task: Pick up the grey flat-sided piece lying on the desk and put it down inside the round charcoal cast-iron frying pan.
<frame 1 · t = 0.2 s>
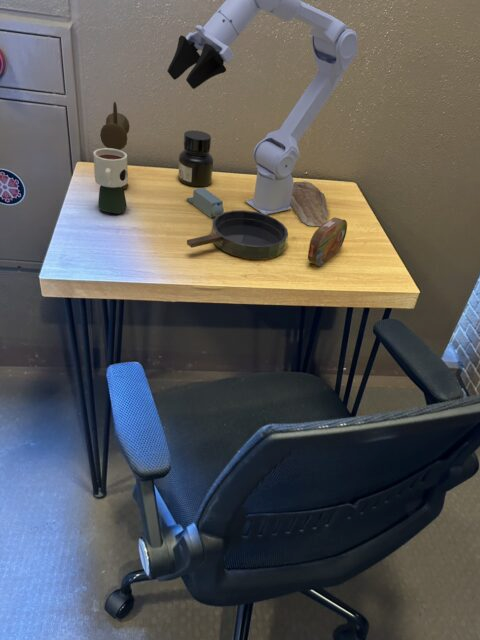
hand: (180, 80, 102), 31 cm above the table, tool tilted 45°, fingers open, 7 cm apart
pan: (248, 241, 122), on the table
fish fossil: (307, 205, 143), on the table
character mug: (112, 210, 123), on the table
tin: (323, 257, 122), on the table
ink bottle: (194, 181, 143), on the table
kendama: (117, 187, 132), on the table
pan handle: (204, 240, 113), point 2 cm above the table
grey flat-sided piece: (206, 210, 130), on the table
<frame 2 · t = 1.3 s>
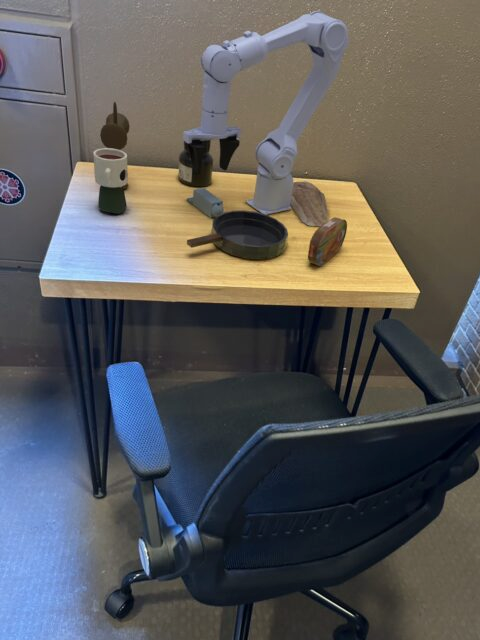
hand: (210, 170, 124), 10 cm above the table, tool pointing down, fingers open, 7 cm apart
nothing on the table moved.
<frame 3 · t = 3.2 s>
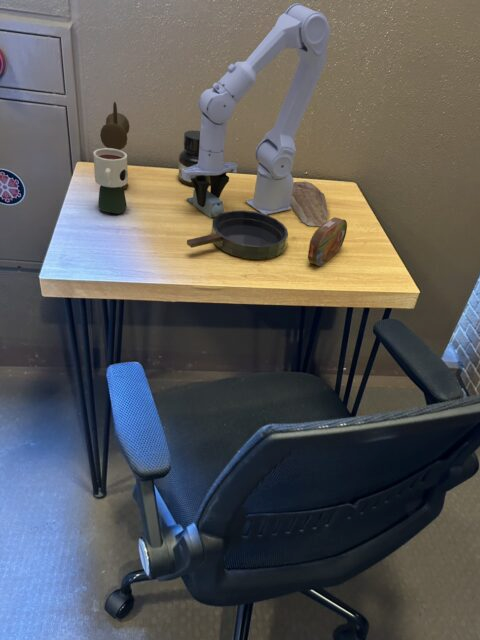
hand: (207, 204, 129), 2 cm above the table, tool pointing down, fingers closed on grey flat-sided piece, 3 cm apart
grey flat-sided piece: (206, 210, 130), on the table, touching gripper
everything else where it was.
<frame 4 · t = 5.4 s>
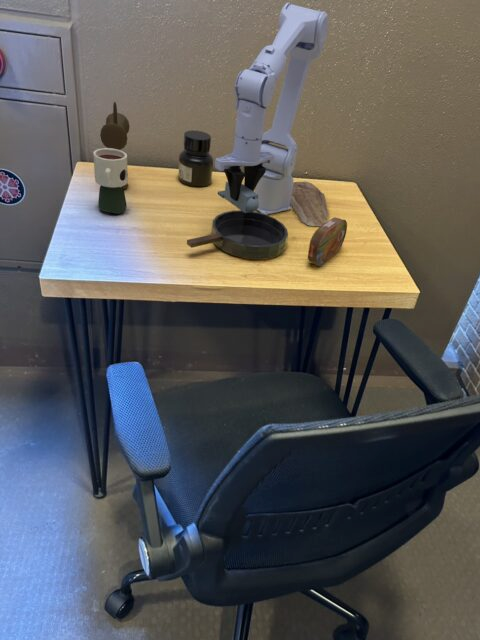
hand: (240, 197, 118), 9 cm above the table, tool pointing down, fingers closed on grey flat-sided piece, 3 cm apart
grey flat-sided piece: (239, 204, 119), point 7 cm above the table, touching gripper
everything else where it was.
when the fingers open (2 cm above the table, at t = 7.8 s): grey flat-sided piece stays where it is, resting on pan.
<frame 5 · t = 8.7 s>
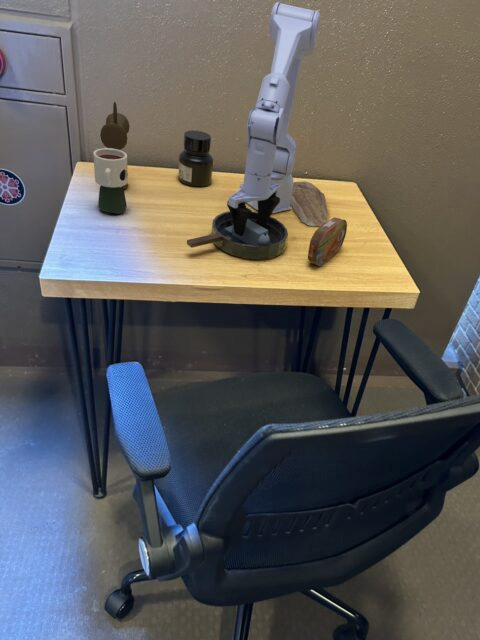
hand: (250, 229, 120), 3 cm above the table, tool pointing down, fingers open, 7 cm apart
grey flat-sided piece: (248, 240, 121), resting on pan
everything else where it was.
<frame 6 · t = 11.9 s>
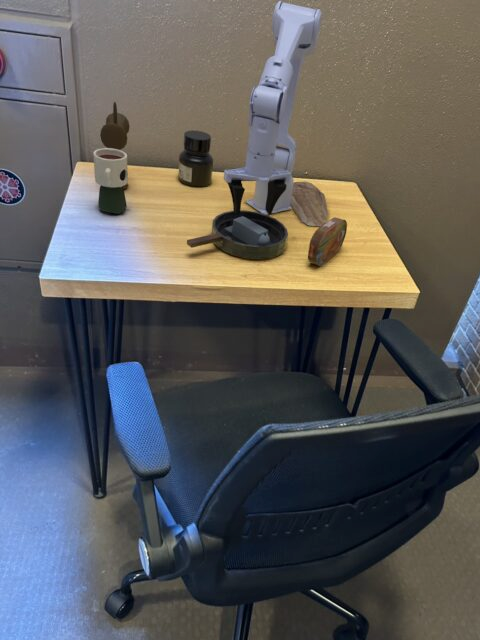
hand: (252, 212, 117), 7 cm above the table, tool pointing down, fingers open, 7 cm apart
nothing on the table moved.
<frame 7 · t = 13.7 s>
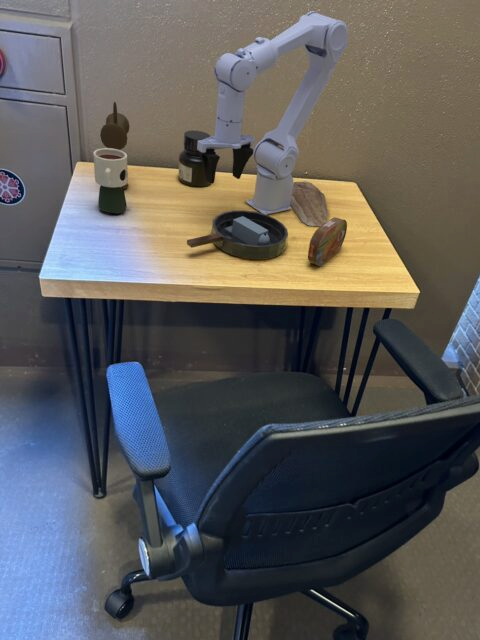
hand: (223, 179, 123), 9 cm above the table, tool pointing down, fingers open, 7 cm apart
nothing on the table moved.
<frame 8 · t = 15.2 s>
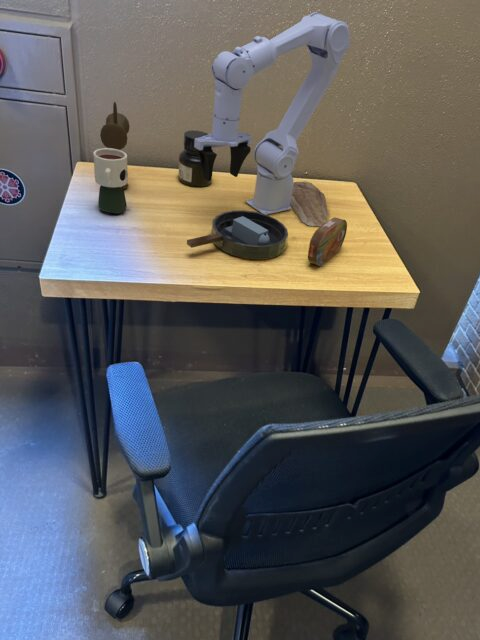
hand: (220, 177, 123), 9 cm above the table, tool pointing down, fingers open, 7 cm apart
nothing on the table moved.
at the end: grey flat-sided piece inside the target area in the pan (0.0 cm from its centre), point 0.4 cm above the pan's base; grey flat-sided piece tilted 0°; the gripper is holding nothing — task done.
